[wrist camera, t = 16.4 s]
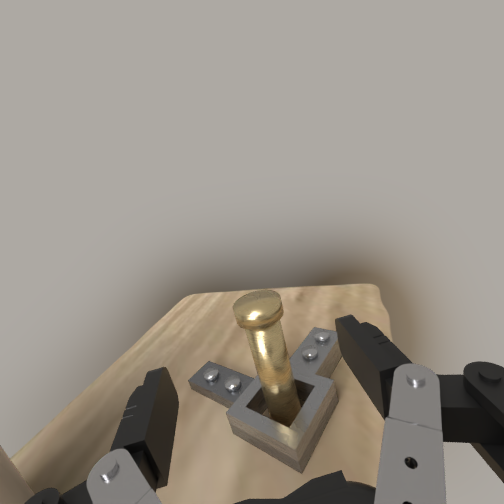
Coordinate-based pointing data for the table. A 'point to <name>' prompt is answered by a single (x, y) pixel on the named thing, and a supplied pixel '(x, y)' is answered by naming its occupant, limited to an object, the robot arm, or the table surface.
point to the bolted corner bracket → (253, 404)
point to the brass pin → (269, 352)
